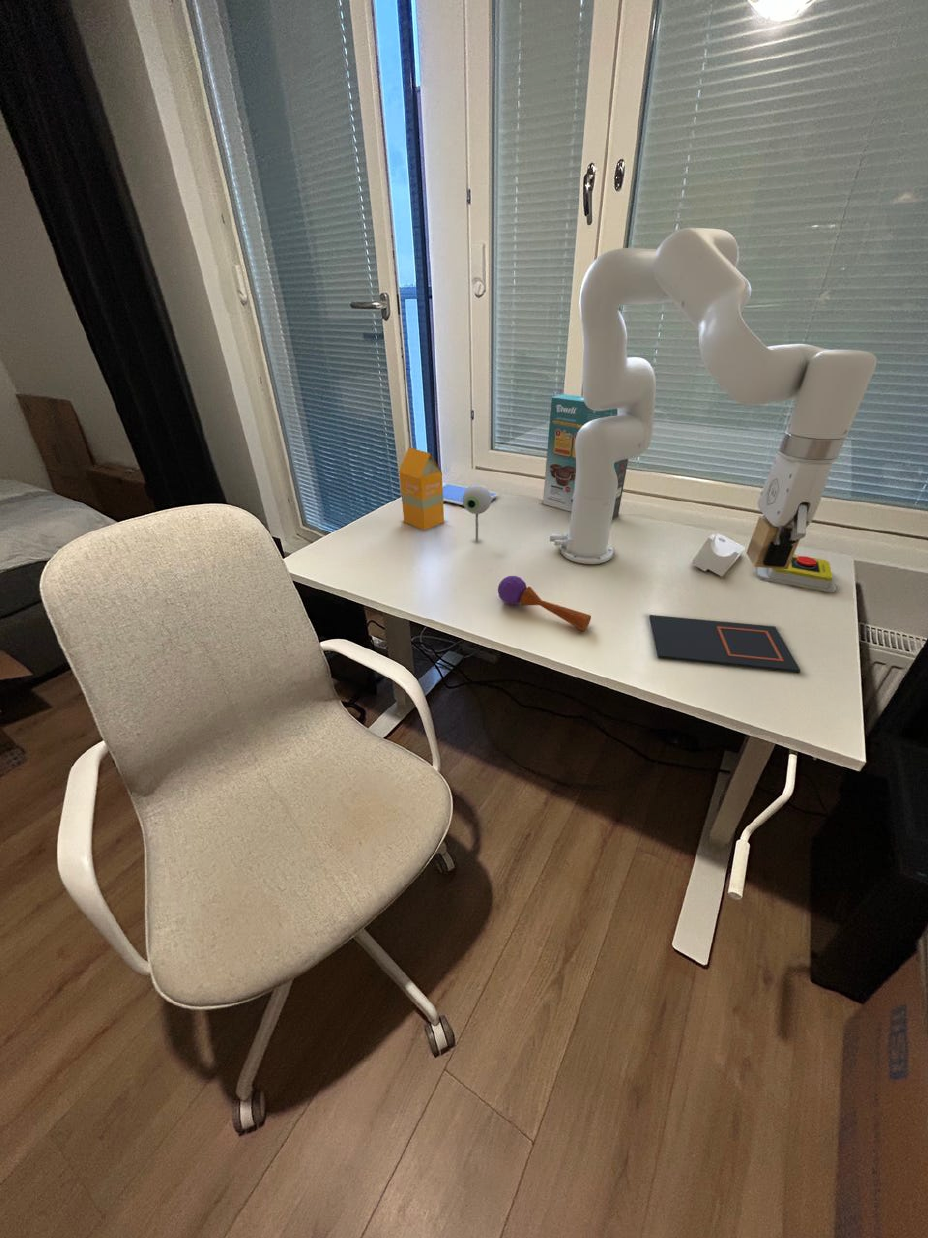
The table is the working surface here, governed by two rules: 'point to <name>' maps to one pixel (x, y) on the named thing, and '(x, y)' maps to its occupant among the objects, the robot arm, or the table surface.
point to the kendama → (538, 601)
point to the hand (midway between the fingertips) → (768, 556)
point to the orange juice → (421, 490)
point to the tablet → (456, 494)
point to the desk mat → (721, 643)
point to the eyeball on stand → (476, 501)
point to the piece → (765, 543)
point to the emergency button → (802, 574)
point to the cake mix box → (571, 451)
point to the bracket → (718, 554)
